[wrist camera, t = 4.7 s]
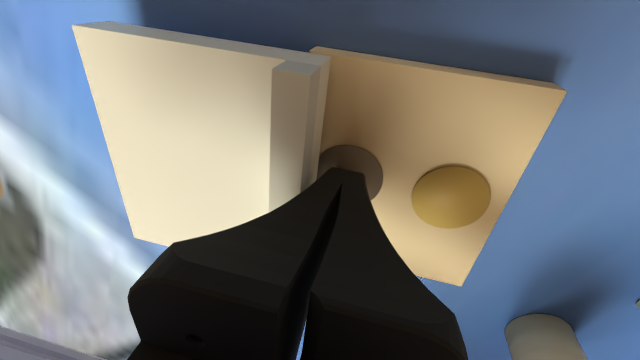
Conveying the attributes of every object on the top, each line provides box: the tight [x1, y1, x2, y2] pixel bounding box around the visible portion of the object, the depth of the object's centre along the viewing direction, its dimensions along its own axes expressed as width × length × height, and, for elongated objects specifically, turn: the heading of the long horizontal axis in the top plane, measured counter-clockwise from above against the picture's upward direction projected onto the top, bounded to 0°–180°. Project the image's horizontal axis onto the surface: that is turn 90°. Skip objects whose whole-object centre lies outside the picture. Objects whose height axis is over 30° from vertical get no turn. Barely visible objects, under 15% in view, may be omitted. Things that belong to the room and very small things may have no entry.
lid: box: [72, 21, 331, 246], centre depth 12 cm, size 9×8×3 cm
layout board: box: [309, 46, 567, 286], centre depth 13 cm, size 9×8×1 cm
